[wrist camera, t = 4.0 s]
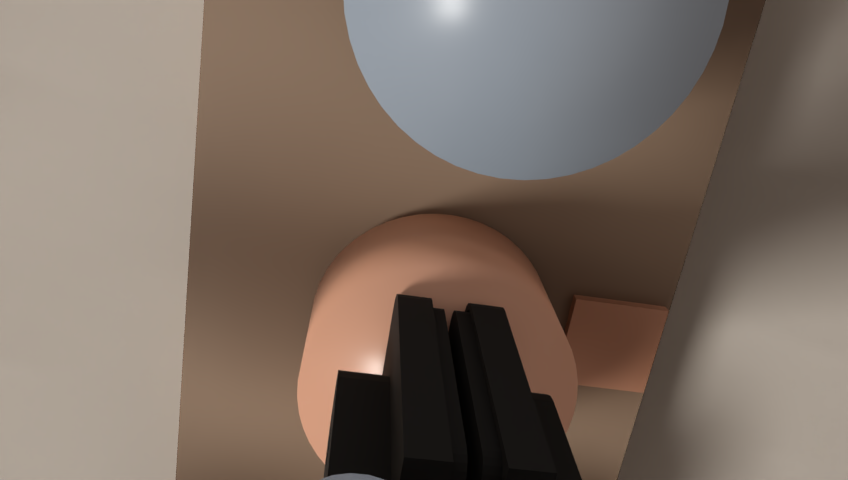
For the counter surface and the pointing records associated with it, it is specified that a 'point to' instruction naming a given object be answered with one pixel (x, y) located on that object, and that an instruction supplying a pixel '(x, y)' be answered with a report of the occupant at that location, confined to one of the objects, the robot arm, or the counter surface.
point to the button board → (399, 197)
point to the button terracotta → (450, 290)
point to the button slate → (532, 75)
